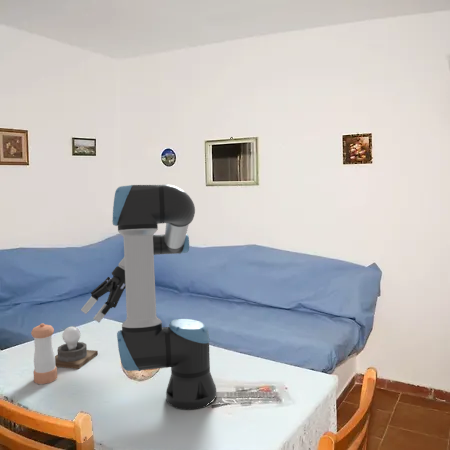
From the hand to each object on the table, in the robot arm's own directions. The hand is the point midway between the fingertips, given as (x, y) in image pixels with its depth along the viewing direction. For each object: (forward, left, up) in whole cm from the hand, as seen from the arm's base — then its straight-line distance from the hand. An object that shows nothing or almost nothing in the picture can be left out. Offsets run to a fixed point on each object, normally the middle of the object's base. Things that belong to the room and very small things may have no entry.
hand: (89, 316), depth 170 cm
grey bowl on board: (-5, +5, -15) cm, 17 cm away
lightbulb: (-5, +5, -14) cm, 15 cm away
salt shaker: (-21, +5, -15) cm, 27 cm away
